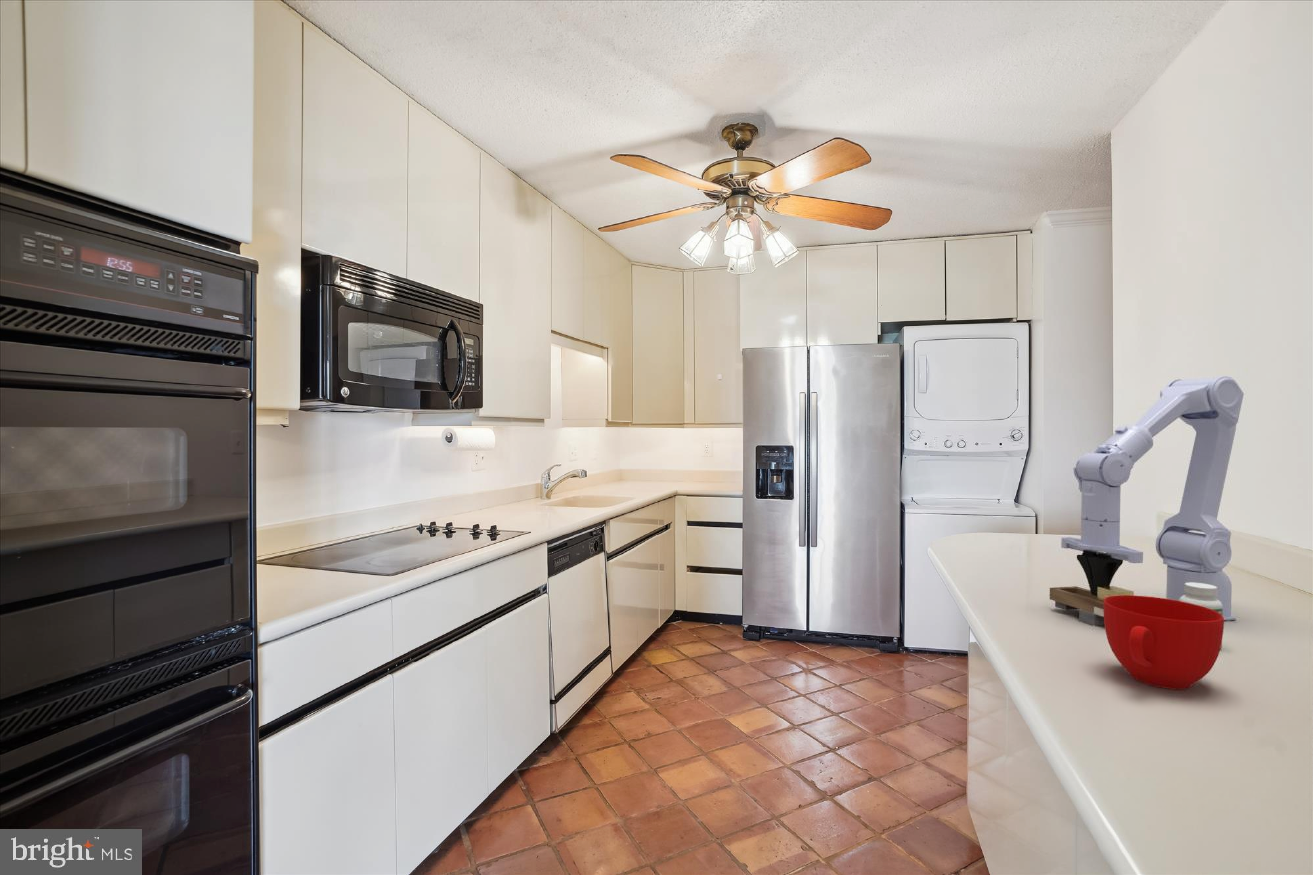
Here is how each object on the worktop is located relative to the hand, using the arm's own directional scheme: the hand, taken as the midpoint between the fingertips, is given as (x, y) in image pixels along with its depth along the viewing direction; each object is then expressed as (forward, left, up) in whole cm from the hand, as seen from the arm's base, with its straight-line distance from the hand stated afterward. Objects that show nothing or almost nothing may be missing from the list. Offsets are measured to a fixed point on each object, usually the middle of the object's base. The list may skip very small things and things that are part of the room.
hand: (1098, 595), depth 114 cm
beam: (0, +1, -5) cm, 5 cm away
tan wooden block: (0, +3, -1) cm, 3 cm away
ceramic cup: (+18, +25, -5) cm, 31 cm away
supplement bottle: (-5, +14, -5) cm, 15 cm away
